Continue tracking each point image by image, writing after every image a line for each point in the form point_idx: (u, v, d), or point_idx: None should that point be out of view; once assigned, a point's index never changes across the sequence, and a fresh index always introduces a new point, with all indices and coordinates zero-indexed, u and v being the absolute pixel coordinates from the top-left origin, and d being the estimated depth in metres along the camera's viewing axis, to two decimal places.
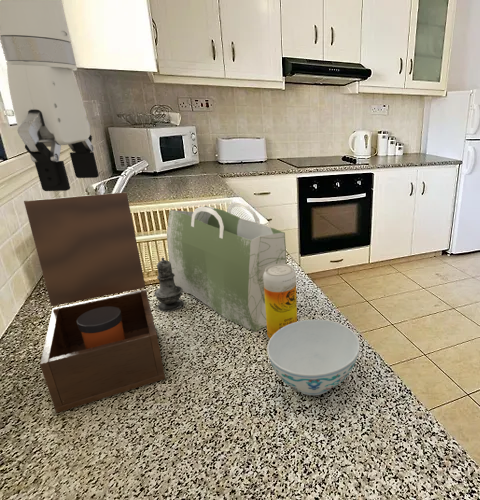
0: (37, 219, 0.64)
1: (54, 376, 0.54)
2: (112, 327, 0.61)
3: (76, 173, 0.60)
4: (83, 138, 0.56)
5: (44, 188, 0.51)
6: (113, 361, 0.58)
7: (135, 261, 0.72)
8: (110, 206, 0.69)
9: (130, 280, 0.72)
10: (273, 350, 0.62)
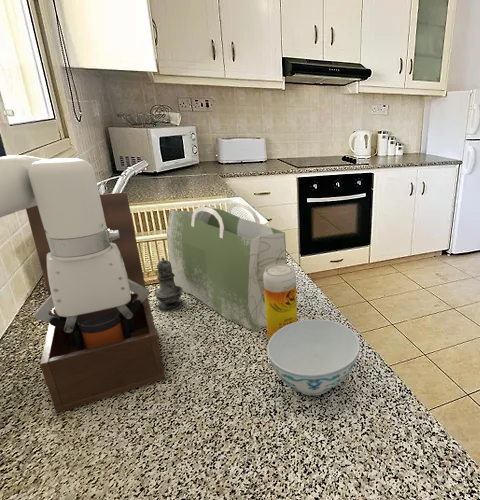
0: (37, 219, 0.64)
1: (54, 376, 0.54)
2: (112, 327, 0.61)
3: None
4: (109, 307, 0.60)
5: None
6: (113, 361, 0.58)
7: (135, 261, 0.72)
8: (110, 206, 0.69)
9: None
10: (273, 350, 0.62)
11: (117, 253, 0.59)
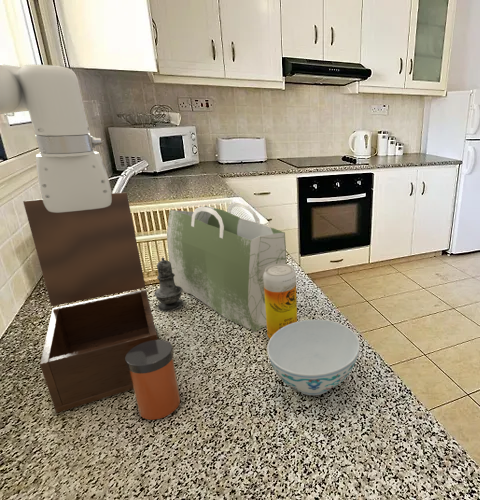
0: (37, 219, 0.63)
1: (54, 376, 0.54)
2: (164, 365, 0.54)
3: None
4: (93, 208, 0.67)
5: None
6: (113, 361, 0.58)
7: (135, 261, 0.72)
8: (110, 206, 0.68)
9: (130, 280, 0.72)
10: (273, 350, 0.62)
11: (99, 158, 0.66)
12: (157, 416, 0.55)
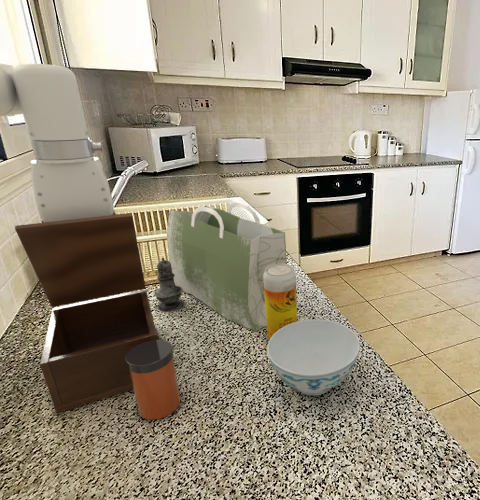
0: (32, 243, 0.57)
1: (54, 376, 0.54)
2: (164, 365, 0.54)
3: None
4: None
5: None
6: (113, 361, 0.58)
7: (137, 270, 0.70)
8: (113, 228, 0.62)
9: (131, 284, 0.72)
10: (273, 350, 0.62)
11: (100, 164, 0.61)
12: (157, 416, 0.55)
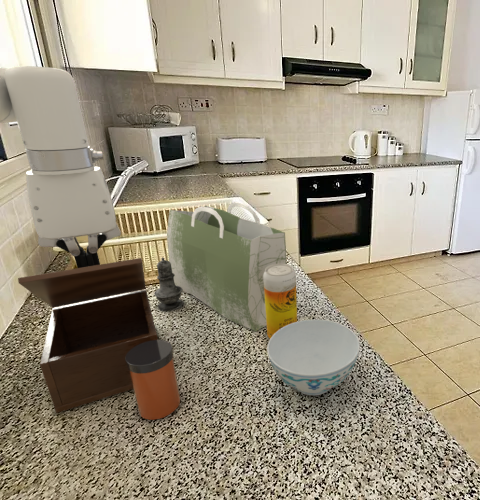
0: (36, 286, 0.54)
1: (54, 376, 0.54)
2: (164, 365, 0.54)
3: None
4: (93, 232, 0.58)
5: None
6: (113, 361, 0.58)
7: (140, 283, 0.69)
8: (121, 270, 0.59)
9: (132, 289, 0.71)
10: (273, 350, 0.62)
11: (101, 175, 0.57)
12: (157, 416, 0.55)
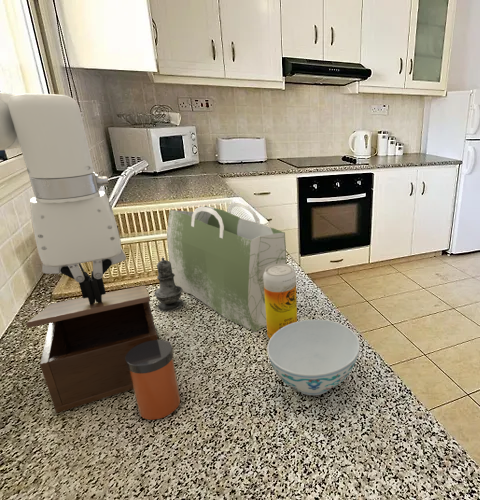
0: None
1: (54, 376, 0.54)
2: (164, 365, 0.54)
3: None
4: (98, 258, 0.57)
5: None
6: (113, 361, 0.58)
7: None
8: None
9: None
10: (273, 350, 0.62)
11: (106, 200, 0.56)
12: (157, 416, 0.55)
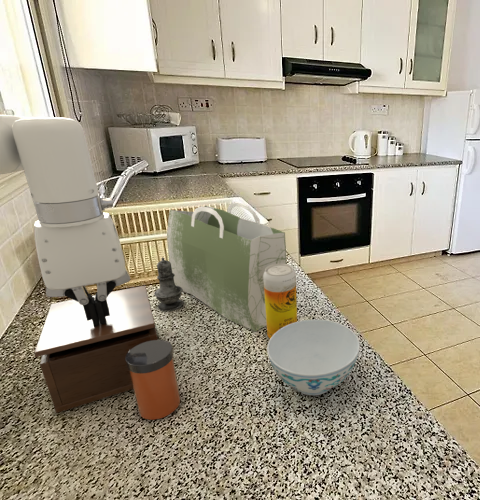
0: None
1: (54, 376, 0.54)
2: (164, 365, 0.54)
3: None
4: (102, 280, 0.56)
5: None
6: (113, 361, 0.58)
7: None
8: None
9: None
10: (273, 350, 0.62)
11: (110, 222, 0.55)
12: (157, 416, 0.55)
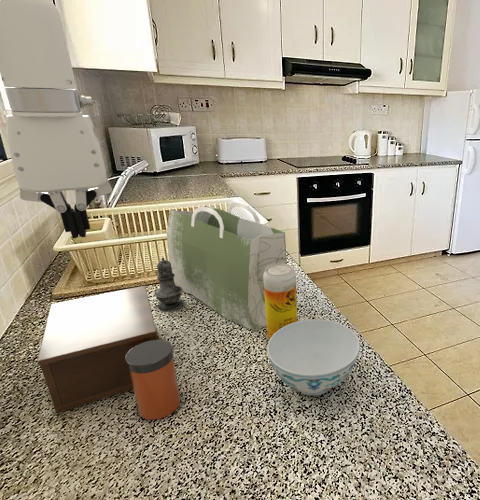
0: None
1: (54, 376, 0.54)
2: (164, 365, 0.54)
3: None
4: (81, 186, 0.53)
5: None
6: (113, 361, 0.58)
7: None
8: None
9: None
10: (273, 350, 0.62)
11: (90, 122, 0.52)
12: (157, 416, 0.55)
